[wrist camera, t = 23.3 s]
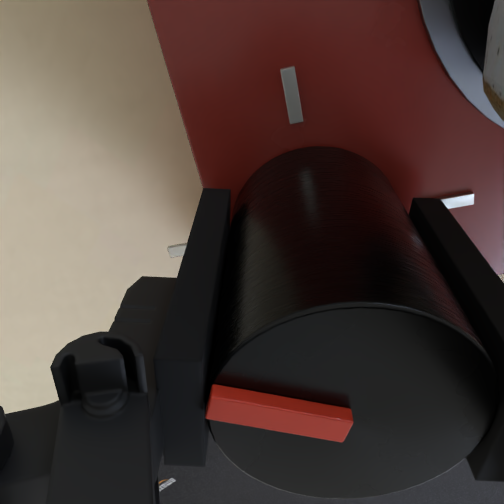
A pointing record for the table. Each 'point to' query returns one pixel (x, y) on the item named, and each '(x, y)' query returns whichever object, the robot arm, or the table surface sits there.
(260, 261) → the dial
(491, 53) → the ceramic mug
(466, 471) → the mouse pad
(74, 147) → the table surface
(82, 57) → the table surface
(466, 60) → the burner plate
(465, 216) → the hotplate
